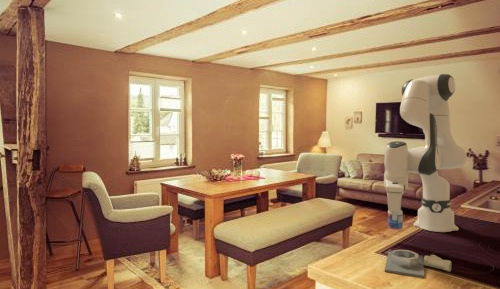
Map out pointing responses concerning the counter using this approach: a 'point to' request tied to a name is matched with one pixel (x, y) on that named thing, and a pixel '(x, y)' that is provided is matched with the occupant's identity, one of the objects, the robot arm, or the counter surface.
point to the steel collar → (404, 258)
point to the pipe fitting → (437, 263)
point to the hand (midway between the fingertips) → (395, 217)
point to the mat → (412, 271)
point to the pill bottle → (395, 221)
